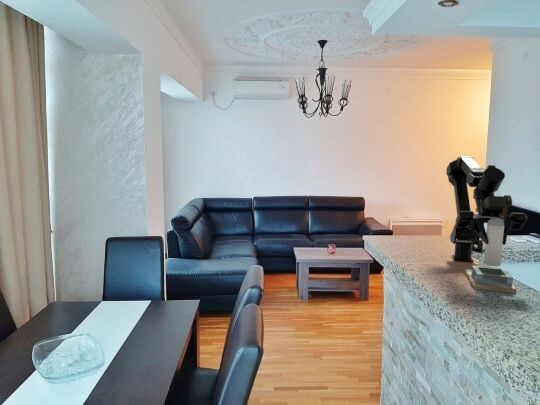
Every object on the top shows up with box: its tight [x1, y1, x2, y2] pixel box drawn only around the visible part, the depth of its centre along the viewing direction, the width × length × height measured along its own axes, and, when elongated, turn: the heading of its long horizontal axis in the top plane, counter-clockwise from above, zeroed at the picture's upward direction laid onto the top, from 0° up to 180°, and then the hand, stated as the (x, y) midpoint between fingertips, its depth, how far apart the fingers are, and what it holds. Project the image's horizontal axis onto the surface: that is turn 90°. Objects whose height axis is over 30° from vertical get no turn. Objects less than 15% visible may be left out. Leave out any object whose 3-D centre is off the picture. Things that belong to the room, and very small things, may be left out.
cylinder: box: [483, 218, 504, 267], centre depth 118 cm, size 4×4×14 cm
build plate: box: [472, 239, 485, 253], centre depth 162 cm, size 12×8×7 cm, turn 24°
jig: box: [464, 265, 517, 294], centre depth 121 cm, size 16×11×4 cm
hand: (495, 243), depth 116 cm, fingers closed on cylinder, 4 cm apart
